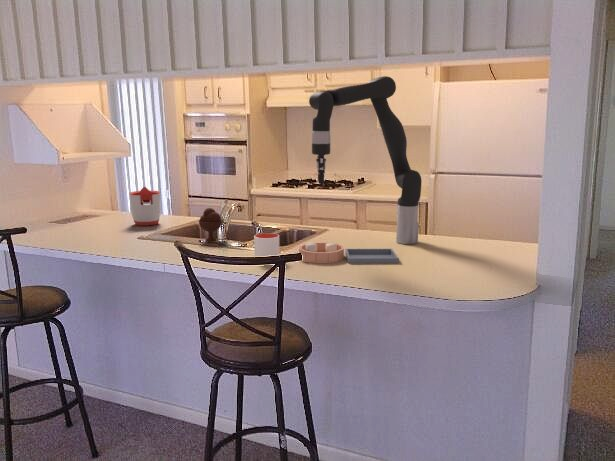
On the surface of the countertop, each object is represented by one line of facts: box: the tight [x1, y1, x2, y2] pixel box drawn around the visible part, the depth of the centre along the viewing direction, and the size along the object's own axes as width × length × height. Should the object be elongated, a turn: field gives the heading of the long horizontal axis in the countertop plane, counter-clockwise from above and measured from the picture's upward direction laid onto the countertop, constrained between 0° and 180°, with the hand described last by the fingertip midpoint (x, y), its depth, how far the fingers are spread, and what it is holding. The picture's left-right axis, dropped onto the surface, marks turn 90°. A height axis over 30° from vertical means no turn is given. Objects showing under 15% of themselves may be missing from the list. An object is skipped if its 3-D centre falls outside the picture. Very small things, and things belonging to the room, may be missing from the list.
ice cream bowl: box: [198, 207, 223, 243], centre depth 259 cm, size 11×11×15 cm
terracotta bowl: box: [298, 241, 345, 264], centre depth 228 cm, size 18×18×4 cm
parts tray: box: [344, 248, 399, 264], centre depth 227 cm, size 20×16×2 cm
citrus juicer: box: [129, 186, 161, 227], centre depth 295 cm, size 16×17×20 cm
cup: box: [253, 232, 280, 257], centre depth 226 cm, size 10×10×10 cm
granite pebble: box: [305, 242, 317, 252], centre depth 228 cm, size 5×5×5 cm
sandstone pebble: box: [325, 242, 338, 252], centre depth 228 cm, size 5×5×5 cm
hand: (320, 182), depth 230 cm, fingers open, 8 cm apart
